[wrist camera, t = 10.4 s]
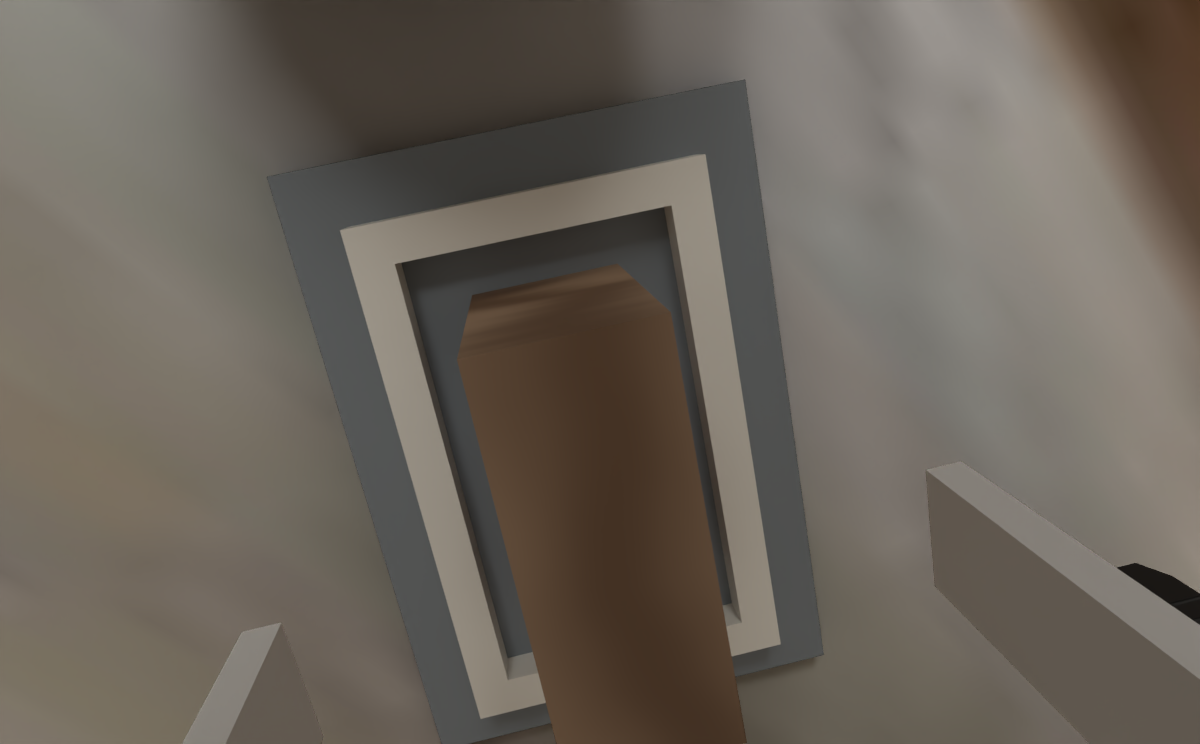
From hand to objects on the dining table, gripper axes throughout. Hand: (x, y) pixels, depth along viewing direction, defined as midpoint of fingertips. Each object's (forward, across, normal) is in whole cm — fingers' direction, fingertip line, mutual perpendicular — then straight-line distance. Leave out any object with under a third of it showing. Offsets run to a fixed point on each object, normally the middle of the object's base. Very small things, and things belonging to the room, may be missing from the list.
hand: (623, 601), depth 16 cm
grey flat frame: (+11, 0, -1) cm, 11 cm away
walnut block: (+10, 0, 0) cm, 10 cm away
